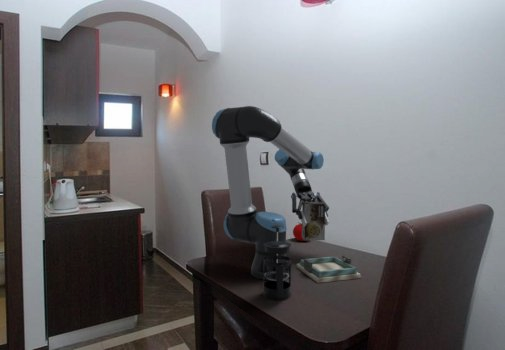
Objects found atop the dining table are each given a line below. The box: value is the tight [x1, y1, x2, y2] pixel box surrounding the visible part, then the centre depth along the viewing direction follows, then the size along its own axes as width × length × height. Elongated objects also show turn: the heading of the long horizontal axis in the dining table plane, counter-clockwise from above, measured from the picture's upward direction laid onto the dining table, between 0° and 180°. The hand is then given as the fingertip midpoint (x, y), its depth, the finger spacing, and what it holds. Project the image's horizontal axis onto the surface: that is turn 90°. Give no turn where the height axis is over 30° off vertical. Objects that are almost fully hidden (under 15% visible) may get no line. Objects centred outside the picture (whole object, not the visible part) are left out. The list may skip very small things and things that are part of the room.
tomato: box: [292, 222, 307, 242], centre depth 188 cm, size 10×10×10 cm
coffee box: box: [301, 202, 326, 241], centre depth 154 cm, size 9×6×16 cm
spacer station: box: [296, 254, 362, 284], centre depth 138 cm, size 18×18×6 cm
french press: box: [262, 225, 292, 301], centre depth 115 cm, size 12×9×23 cm
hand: (316, 224), depth 151 cm, fingers closed on coffee box, 10 cm apart
